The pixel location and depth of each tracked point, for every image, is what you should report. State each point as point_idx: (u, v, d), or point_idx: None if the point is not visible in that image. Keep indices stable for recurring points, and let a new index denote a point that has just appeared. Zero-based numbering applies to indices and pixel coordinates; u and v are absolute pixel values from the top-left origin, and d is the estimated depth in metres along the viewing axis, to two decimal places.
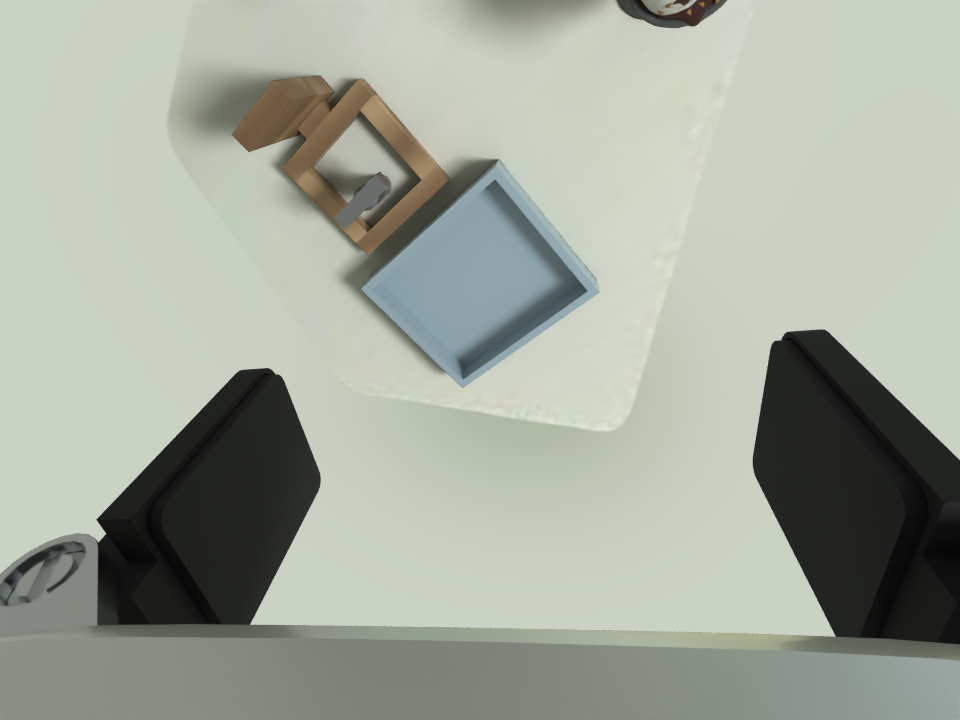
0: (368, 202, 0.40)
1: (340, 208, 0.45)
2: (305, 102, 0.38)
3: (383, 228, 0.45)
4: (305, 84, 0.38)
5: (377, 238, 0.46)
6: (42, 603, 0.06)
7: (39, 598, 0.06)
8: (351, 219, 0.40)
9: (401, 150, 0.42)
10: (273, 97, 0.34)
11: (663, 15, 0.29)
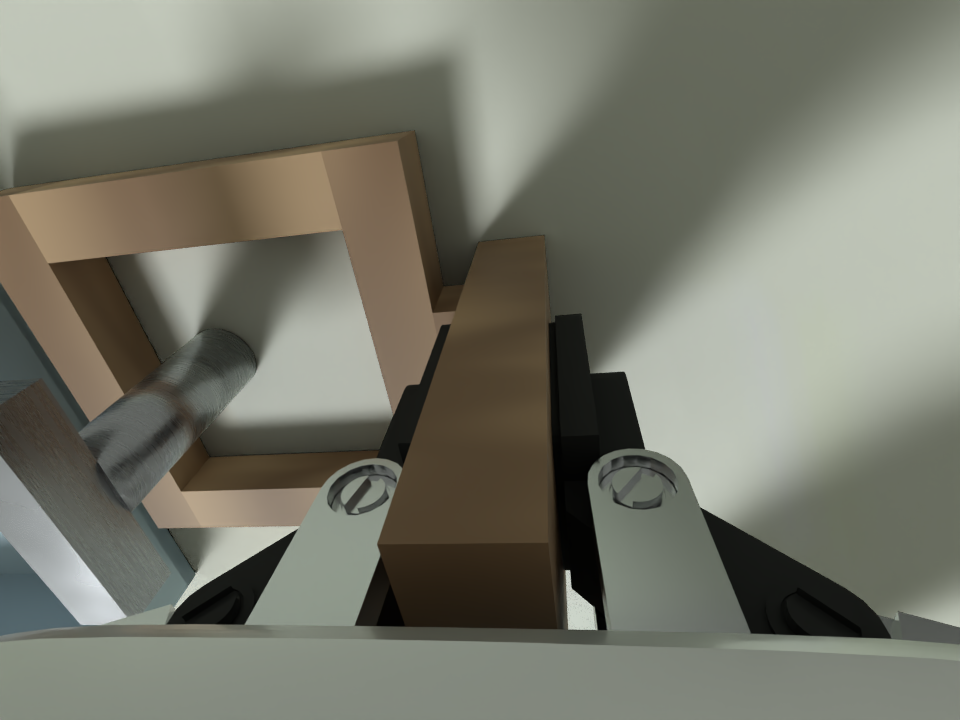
0: (32, 559, 0.09)
1: (161, 241, 0.11)
2: None
3: (56, 323, 0.12)
4: None
5: (21, 281, 0.12)
6: (349, 522, 0.06)
7: (350, 514, 0.07)
8: None
9: (271, 498, 0.15)
10: None
11: None
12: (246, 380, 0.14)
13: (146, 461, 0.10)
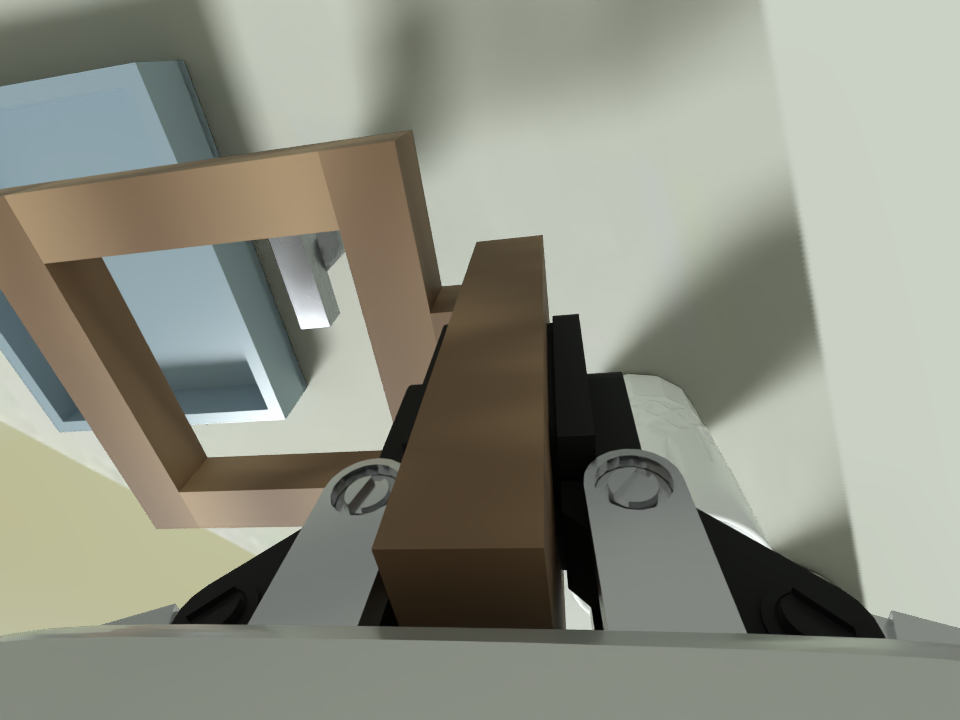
0: (289, 282, 0.19)
1: (158, 241, 0.11)
2: None
3: (52, 323, 0.12)
4: None
5: (17, 282, 0.12)
6: (352, 522, 0.06)
7: (353, 514, 0.07)
8: None
9: (269, 498, 0.15)
10: None
11: None
12: None
13: (333, 246, 0.20)
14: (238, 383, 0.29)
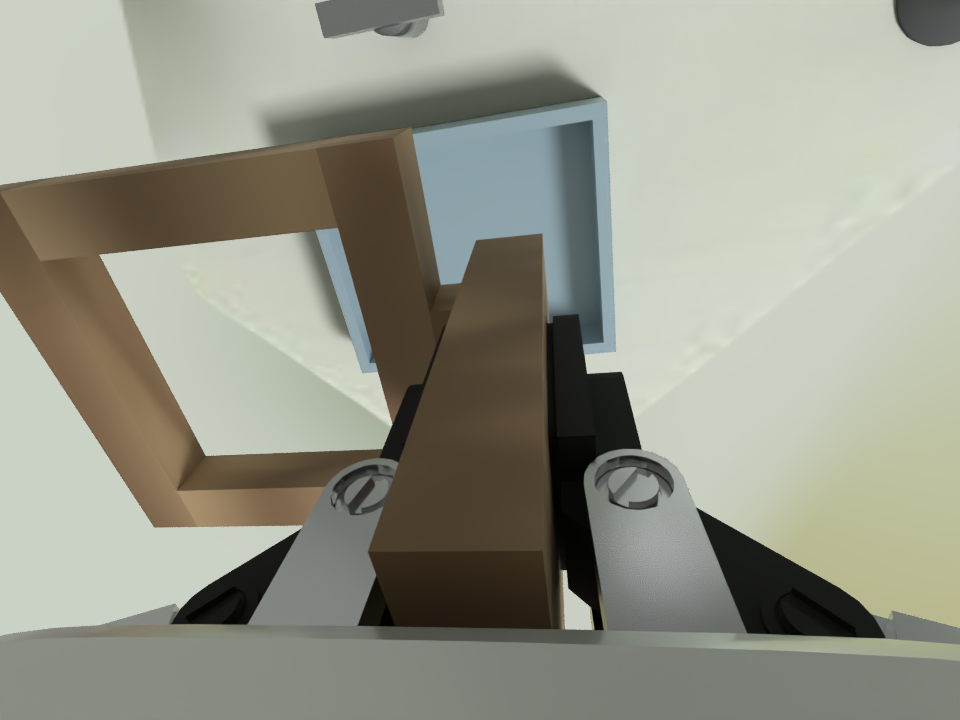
0: (392, 18, 0.21)
1: (155, 239, 0.11)
2: None
3: (49, 321, 0.12)
4: None
5: (13, 279, 0.12)
6: (352, 522, 0.06)
7: (353, 514, 0.07)
8: (344, 28, 0.21)
9: (267, 497, 0.15)
10: None
11: None
12: None
13: None
14: (588, 173, 0.28)
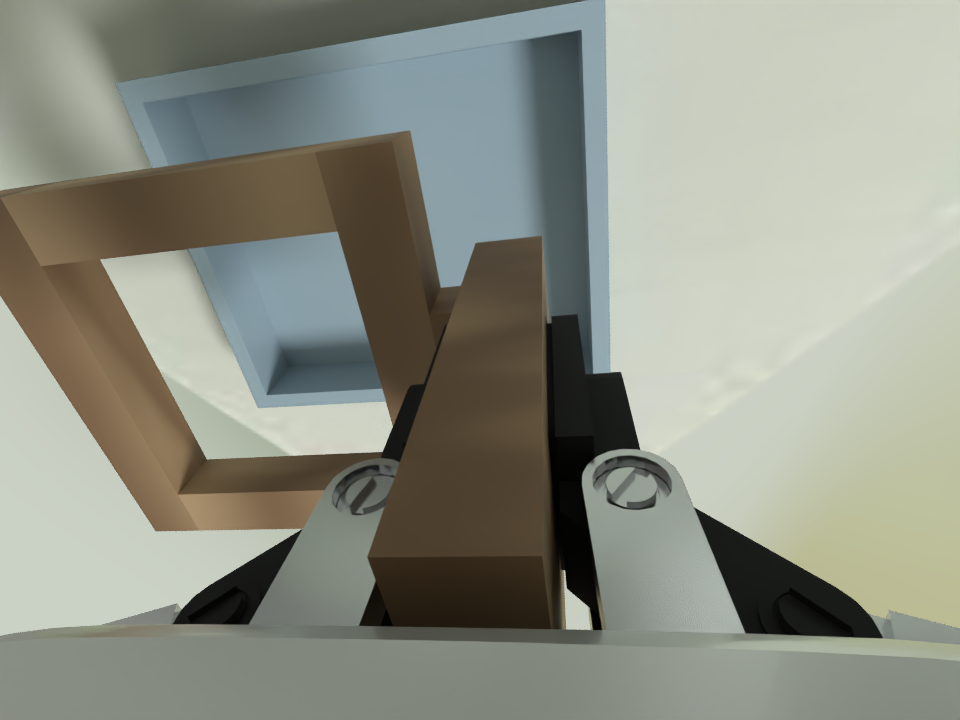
0: None
1: (155, 243, 0.11)
2: None
3: (50, 326, 0.12)
4: None
5: (14, 284, 0.12)
6: (354, 522, 0.06)
7: (355, 514, 0.07)
8: None
9: (268, 500, 0.15)
10: None
11: None
12: None
13: None
14: (575, 126, 0.19)
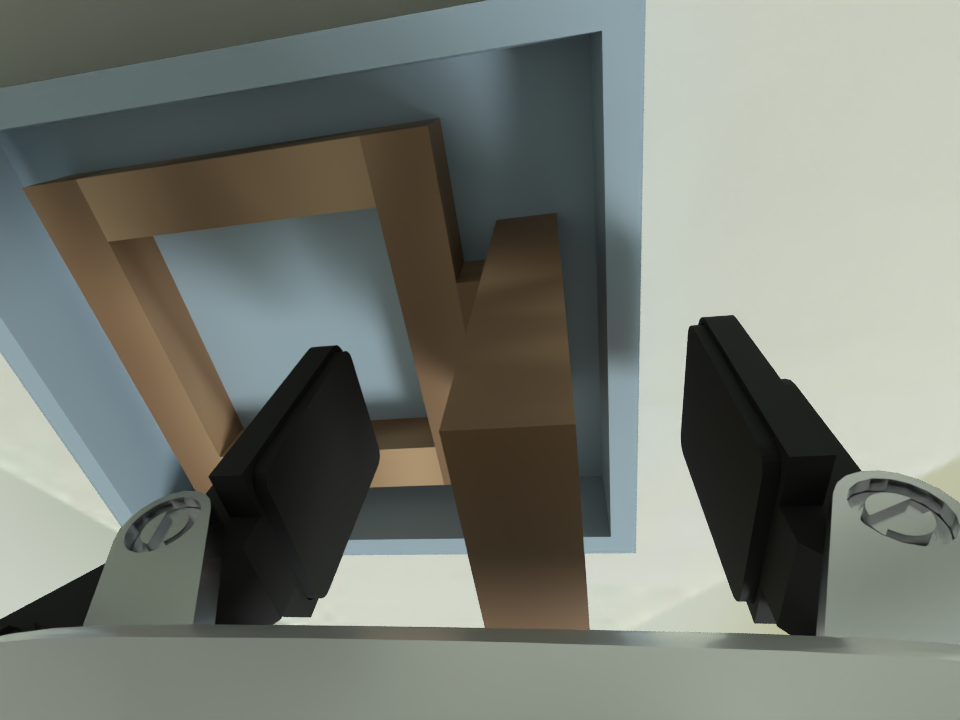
0: None
1: (212, 219, 0.12)
2: None
3: (112, 297, 0.14)
4: None
5: (82, 259, 0.13)
6: (158, 554, 0.06)
7: (156, 549, 0.06)
8: None
9: None
10: None
11: None
12: None
13: None
14: (586, 181, 0.12)
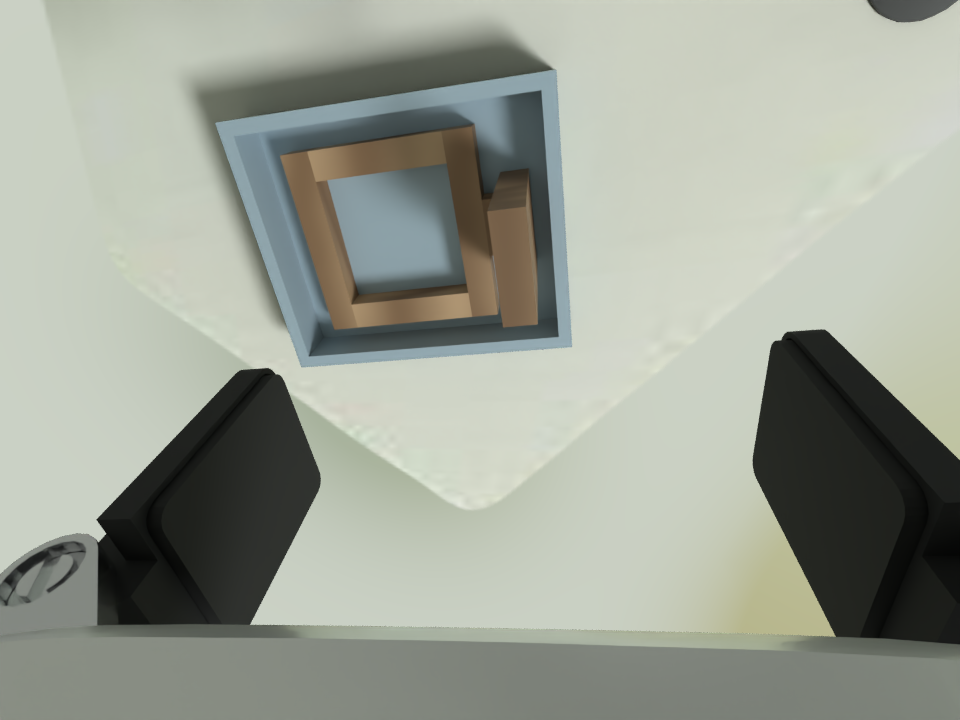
0: None
1: (369, 170, 0.26)
2: None
3: (311, 211, 0.28)
4: None
5: (300, 191, 0.27)
6: (42, 603, 0.06)
7: (39, 598, 0.06)
8: None
9: (397, 305, 0.30)
10: (520, 309, 0.22)
11: None
12: None
13: None
14: (541, 153, 0.27)
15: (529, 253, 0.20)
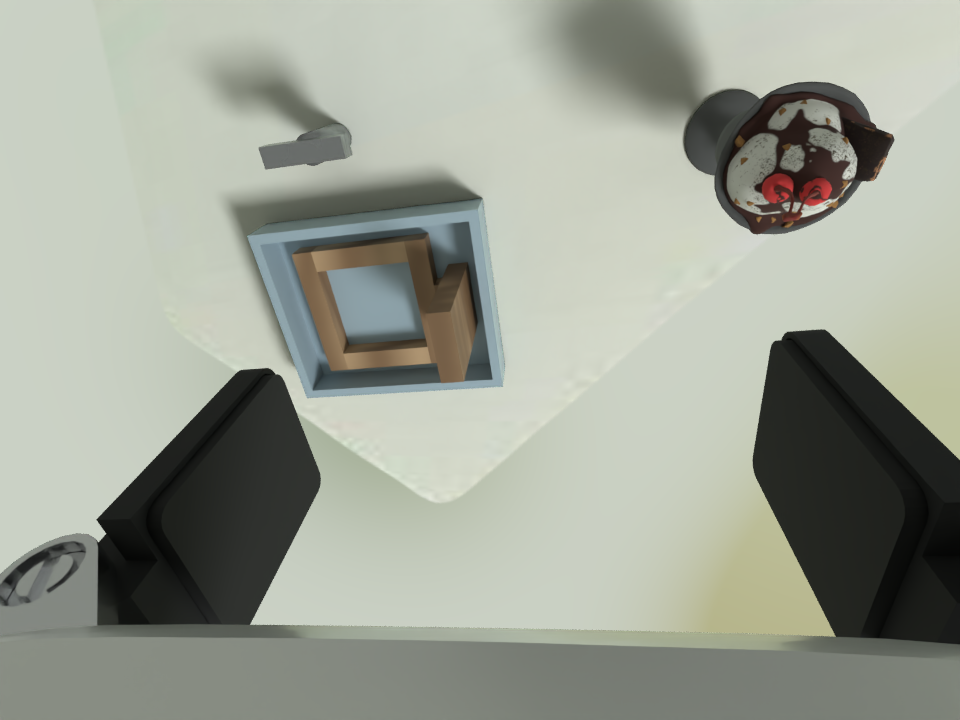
0: (312, 159, 0.30)
1: (354, 265, 0.37)
2: None
3: (314, 290, 0.39)
4: None
5: (306, 277, 0.38)
6: (42, 603, 0.06)
7: (39, 598, 0.06)
8: (279, 163, 0.30)
9: (376, 355, 0.41)
10: (452, 372, 0.33)
11: (736, 204, 0.25)
12: (339, 125, 0.34)
13: (308, 132, 0.31)
14: None
15: (454, 338, 0.32)
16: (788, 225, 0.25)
